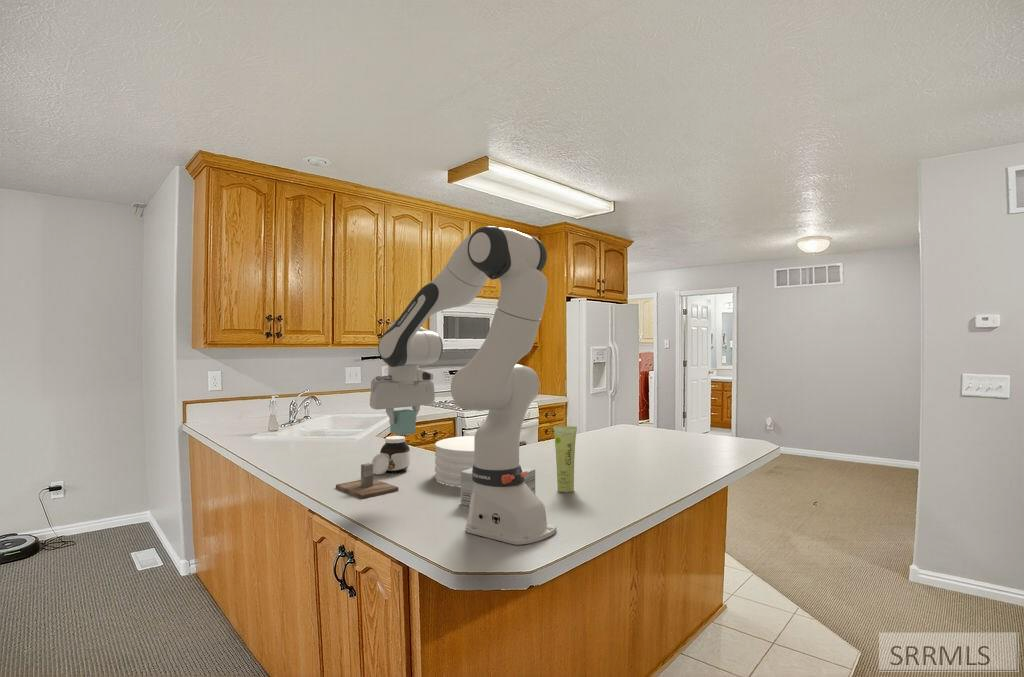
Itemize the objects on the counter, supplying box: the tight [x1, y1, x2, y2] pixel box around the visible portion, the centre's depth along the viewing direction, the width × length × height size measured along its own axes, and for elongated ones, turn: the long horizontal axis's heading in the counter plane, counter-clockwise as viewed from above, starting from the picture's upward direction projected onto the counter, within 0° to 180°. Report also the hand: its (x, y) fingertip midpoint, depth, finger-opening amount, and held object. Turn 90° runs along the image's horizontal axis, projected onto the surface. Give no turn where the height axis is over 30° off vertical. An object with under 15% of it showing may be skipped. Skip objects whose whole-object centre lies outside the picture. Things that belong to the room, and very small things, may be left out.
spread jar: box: [370, 435, 411, 476], centre depth 180 cm, size 12×11×12 cm
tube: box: [552, 425, 578, 493], centre depth 158 cm, size 6×5×20 cm
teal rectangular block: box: [389, 408, 417, 436], centre depth 152 cm, size 5×5×7 cm
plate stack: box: [434, 435, 475, 487], centre depth 174 cm, size 28×28×12 cm
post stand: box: [335, 462, 399, 499], centre depth 158 cm, size 16×12×8 cm
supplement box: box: [459, 467, 536, 506], centre depth 145 cm, size 17×13×9 cm
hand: (403, 422), depth 152 cm, fingers closed on teal rectangular block, 5 cm apart
